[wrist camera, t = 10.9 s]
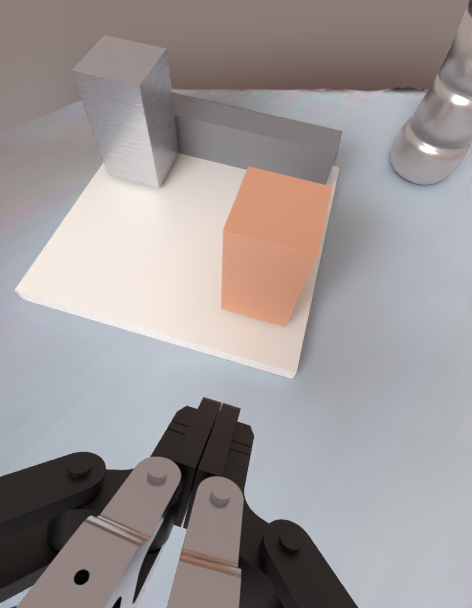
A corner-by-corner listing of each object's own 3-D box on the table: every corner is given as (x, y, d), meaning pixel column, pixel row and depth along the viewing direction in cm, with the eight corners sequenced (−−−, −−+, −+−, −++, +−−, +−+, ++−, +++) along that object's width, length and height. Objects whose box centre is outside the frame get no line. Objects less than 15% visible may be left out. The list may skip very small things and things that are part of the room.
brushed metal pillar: (159, 187, 31) (139, 85, 23) (107, 174, 32) (71, 70, 24) (178, 152, 33) (166, 48, 25) (130, 140, 34) (104, 35, 26)
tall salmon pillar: (286, 327, 25) (317, 254, 17) (221, 308, 26) (223, 229, 18) (299, 272, 28) (332, 186, 20) (239, 256, 28) (248, 166, 20)
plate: (292, 378, 26) (310, 354, 21) (24, 299, 27) (-18, 260, 23) (335, 178, 36) (353, 130, 31) (137, 131, 38) (125, 78, 33)
